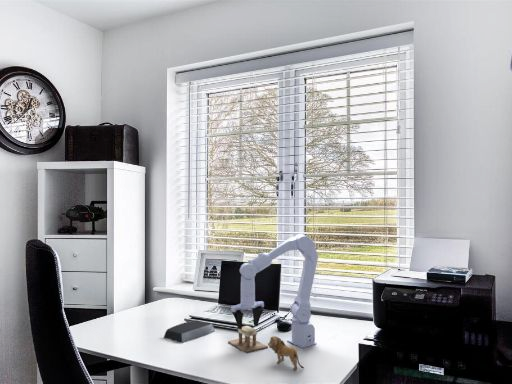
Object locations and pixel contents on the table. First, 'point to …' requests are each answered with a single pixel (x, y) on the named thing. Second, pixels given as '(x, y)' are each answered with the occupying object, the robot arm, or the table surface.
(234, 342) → the walnut mat
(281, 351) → the lion figurine
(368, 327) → the table surface
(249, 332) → the birch stool
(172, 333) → the external hard drive
